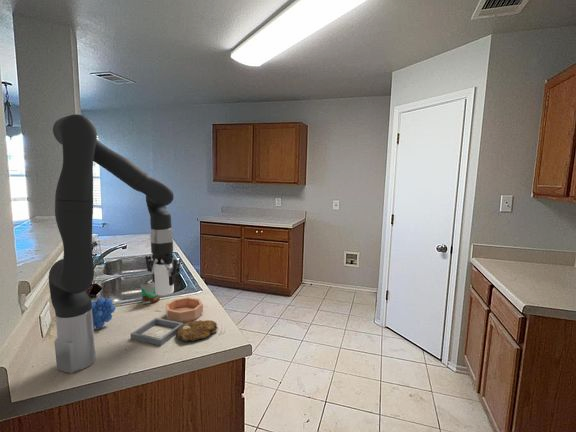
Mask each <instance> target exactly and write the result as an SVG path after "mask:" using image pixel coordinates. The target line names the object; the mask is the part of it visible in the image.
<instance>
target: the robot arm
mask: <svg viewBox="0 0 576 432" xmlns="http://www.w3.org/2000/svg"><path fill="white" fill-rule="evenodd" d="M52 134H53V136H54V138H55V140H56V141H57V142H58V143H59V144H60V145H62V166H61V171H60V174H59V178H58V181H57V184H56V187H55V188H56V189H55V194H54V195H55V196H54V216H55V217H54V218H55V222H56V226H57V229H58V232H59V234H60V237H61V240H62V241H61V242H62V246H63V258H61V259H59V260H57V261H56V262H55V263H53V265H52V266H50V269H49V272H48V286H49V294H50V299H51V300H50V301H51V304H52V307H53V309H54V314H55V323H56V336H57V338H56V339H54V351H55V354H54V355H55V363H56V370H58V371H61V372H65V373H68V374H74V373H75V372H78V371H81V370H84V369H86V368H88V367H90V366H91V365H92V364H94V363H95V361H96V357H97V356H96V346H95V344H96V343H95V331H94V329H95V328H94V329H93V314H92V302H93V301H92V298H90V296H89V294H88V293H87V290H88V289H89V288H90V286H91V285H92V283H93V281H94V278H95V268H94V267H95V266H94V256H93V219H94V218H93V217H94V216H93V215H94V163H95V164H98V166H100V167H101V168H103V169H105V170H106V171H107V172H108V173H110V174H111V175H113V176H114V177H116V178H117V179H119V180H120V181H122V182H123V183H125V184H126V185H127V186H129V187H130V188H132V189H133V190H134V191H137V192H139V193H142V194H143V195H145V202H146V207H147V210H148V213H149V218H150V219H149V221H150V233H149V234H150V252H151V254H148V255H146V256H145V265H146V269H147V271H148V272H151V275H152V276H153V281H154V283H155V275H154V266H155V263H156V264H165V266H166V268H167V270H168V275H169V285H170V286H171V285H173V284H174V285H175V282H176V278H175V276H176V275H178V274H180V271H181V270H180V269H181V258H180V257H174V255H173V252H174V239H173V236H174V235H173V228H172V215H171V213H170V212H169V211H168V210H167V206H168V205H170V204H172V202H173V200H174V197H175V196H174V192H173V190H172V189H171V188H170V187H169V186H168V185H166V184H165V183H164V182H162V181H161V180H159V179H157V178H155V177H153V176H151V175H150V174H149V173H147V172H146V171H145V169H143V168H141V167H140V166H138V165H137V164H136V163H135V162H133V161H132V160H130V159H128V158H127V157H125V156H123V155H122V154H119V153H118V152H116V151H114V150H113V149H111V148H109V147H108V146H107V145H105V144H104V143H103V142H101V141H100V140H99V139H98V131H97V128H96V125H95V124H94V122H93V121H92V120H91V119H90V118H88V117H87V116H85V115H82V114H76V113H75V114H70V115H65V116H63V117H61V118H58V120H56V121H55V122H54V124H53V126H52ZM169 264H172V267H171V268H169V267H168V266H167V265H169ZM170 269H172V272H171V271H170Z"/></svg>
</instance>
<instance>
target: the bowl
mask: <svg viewBox="0 0 576 432" xmlns="http://www.w3.org/2000/svg"><path fill="white" fill-rule="evenodd" d="M203 306H204V304H203V302H202V300H201V299H200V298H195V297H189V296H188V297H181V298H175V299H172V300H171V301H170V302H168V303H166V304H165V314H166V320H170V321H175V322H181V323H184V324H185V323H188V322H192V321H196V320H197V319H199V318H200V317H201V316H202V315H203V314H202V313H204V307H203Z"/></svg>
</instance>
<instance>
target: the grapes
mask: <svg viewBox="0 0 576 432" xmlns="http://www.w3.org/2000/svg"><path fill="white" fill-rule="evenodd" d="M91 302H92V314H93V329H97V330H98V329H102V328H103V327H104V326H105V323H109V322H110V321H111V320H112V318H113V315H112V314H113V313H115V310H116V306H115V305H114V304H113V303H114V302H113V299H112V298H108V299H106V298H105V297H103V296H102V297H99V298H98V299H97V300H96V301H95V300H94V301H91Z"/></svg>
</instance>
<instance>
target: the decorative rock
mask: <svg viewBox="0 0 576 432" xmlns="http://www.w3.org/2000/svg"><path fill="white" fill-rule="evenodd" d="M218 328H219V327H218V324H217V322H215V321H214V320H209V319H207V320H200V319H199V320H193V321H190V322H184V324H183V325H182V326H181V327H180V328H179V329H178V332H177V333H176V335H175V336H176V337H175V338H177V340H181V341H185V342H186V343H187V342H189V341H191V342H193V341H196V340H197V341H198V340H200V339H204V338H207V337H209V336H210V335H212V334H214V333H217V330H219V329H218Z"/></svg>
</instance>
